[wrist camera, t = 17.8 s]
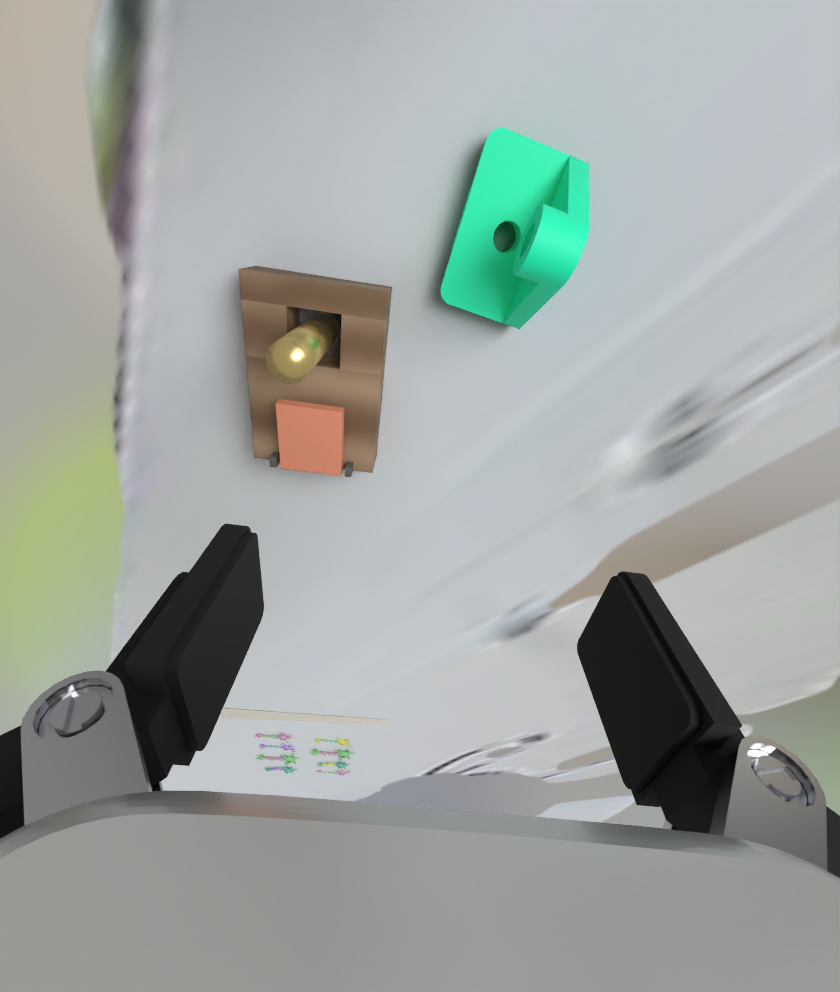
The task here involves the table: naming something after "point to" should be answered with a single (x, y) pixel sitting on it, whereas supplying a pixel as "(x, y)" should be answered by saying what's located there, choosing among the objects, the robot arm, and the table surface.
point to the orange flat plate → (310, 436)
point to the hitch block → (333, 379)
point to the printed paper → (290, 716)
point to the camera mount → (518, 229)
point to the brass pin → (302, 348)
